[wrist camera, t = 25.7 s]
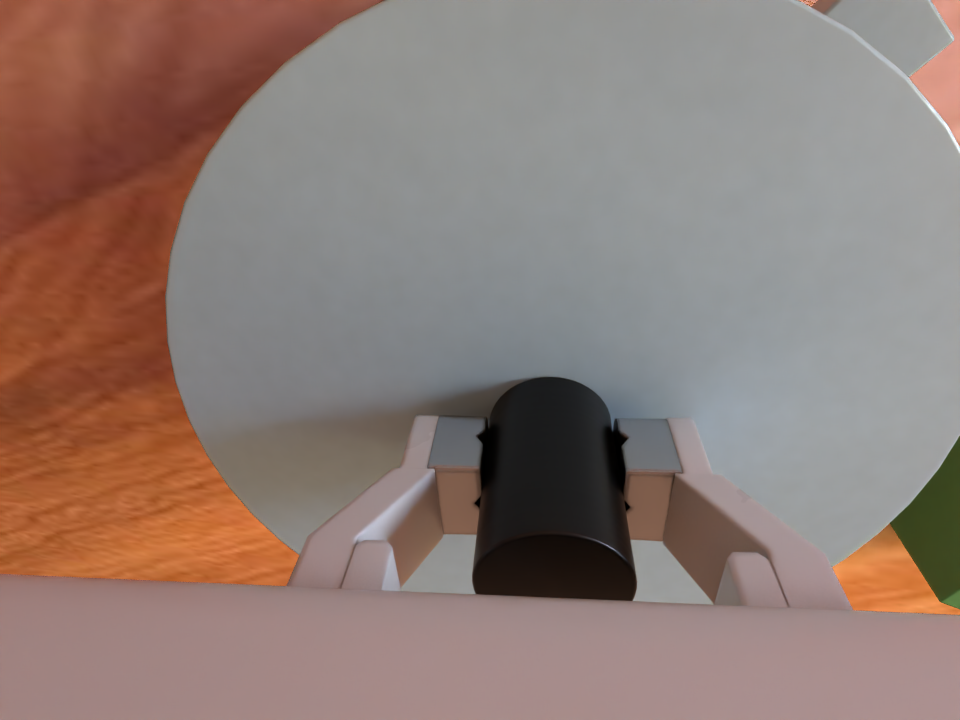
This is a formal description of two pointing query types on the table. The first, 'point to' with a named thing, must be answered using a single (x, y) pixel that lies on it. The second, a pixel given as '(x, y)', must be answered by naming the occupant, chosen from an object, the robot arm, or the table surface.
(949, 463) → the block
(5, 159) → the table surface
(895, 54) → the pan
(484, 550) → the pan lid
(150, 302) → the table surface
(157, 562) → the table surface
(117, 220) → the table surface
